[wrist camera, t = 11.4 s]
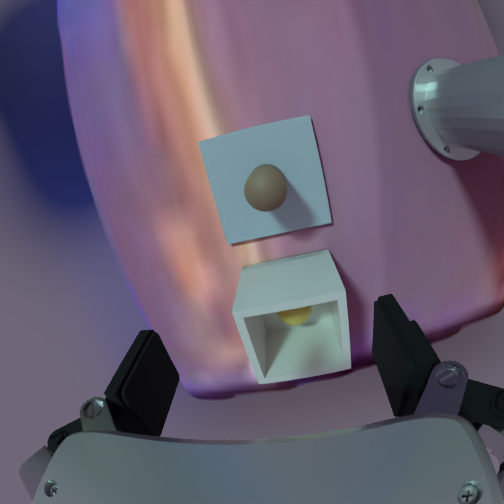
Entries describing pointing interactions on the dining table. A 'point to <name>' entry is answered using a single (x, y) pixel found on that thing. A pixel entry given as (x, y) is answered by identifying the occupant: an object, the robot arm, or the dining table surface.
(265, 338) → the storage box
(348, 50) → the dining table surface
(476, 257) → the dining table surface
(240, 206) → the lid
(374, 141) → the dining table surface
